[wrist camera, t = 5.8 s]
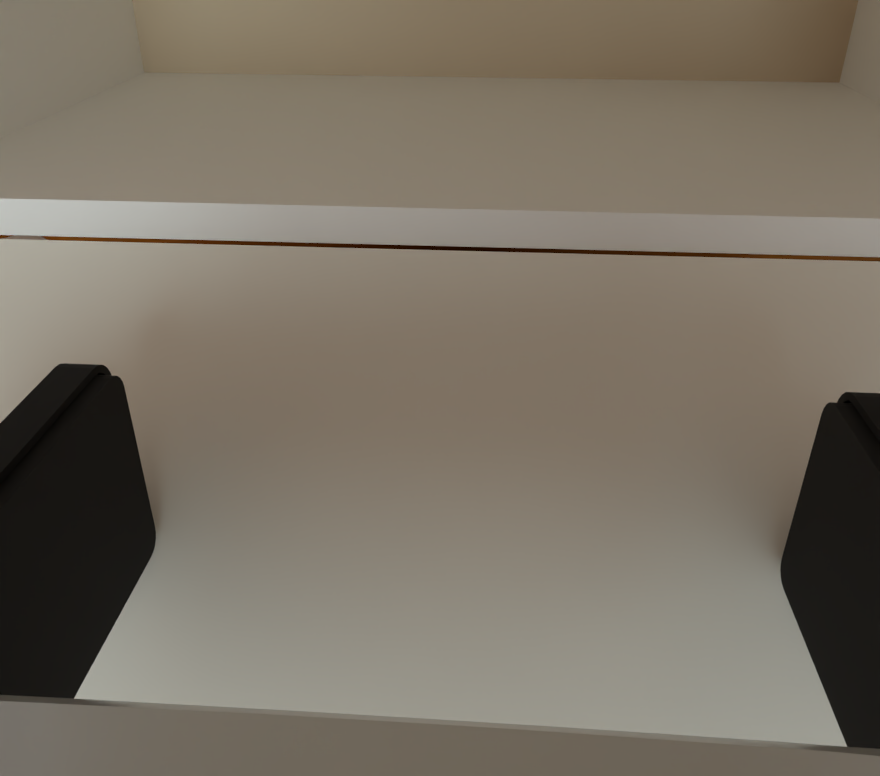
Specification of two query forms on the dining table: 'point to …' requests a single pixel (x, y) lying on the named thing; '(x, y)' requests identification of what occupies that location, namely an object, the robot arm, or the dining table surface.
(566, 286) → the flap
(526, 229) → the carton
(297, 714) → the robot arm
